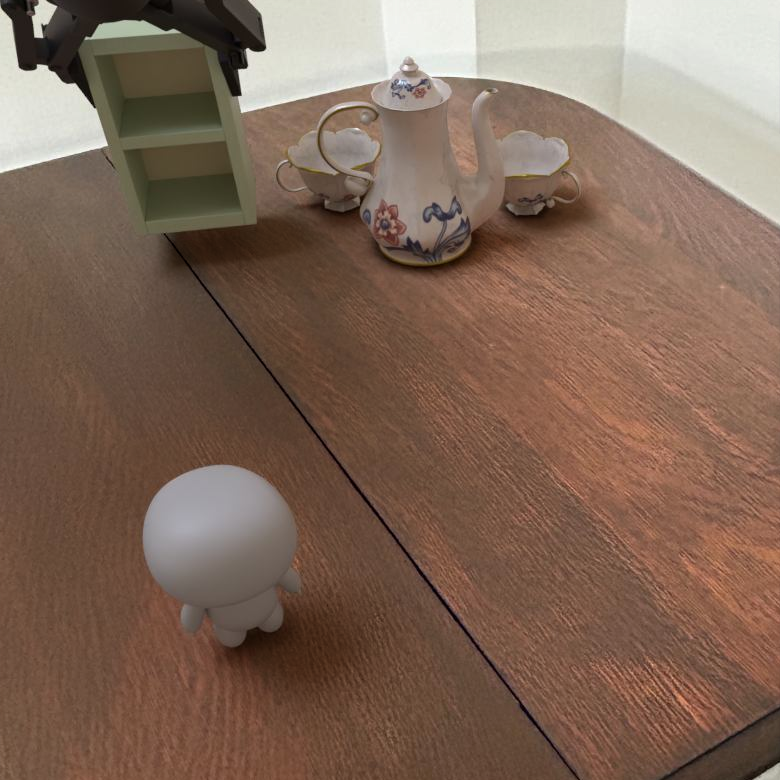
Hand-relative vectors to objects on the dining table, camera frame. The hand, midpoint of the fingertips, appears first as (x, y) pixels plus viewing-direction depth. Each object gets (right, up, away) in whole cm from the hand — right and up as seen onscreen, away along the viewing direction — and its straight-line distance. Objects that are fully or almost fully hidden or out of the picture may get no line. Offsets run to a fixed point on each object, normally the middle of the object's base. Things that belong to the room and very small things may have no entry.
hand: (166, 85), depth 82 cm
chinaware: (+20, -7, +13) cm, 25 cm away
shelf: (-1, +1, +5) cm, 5 cm away
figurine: (+12, -42, -19) cm, 48 cm away
